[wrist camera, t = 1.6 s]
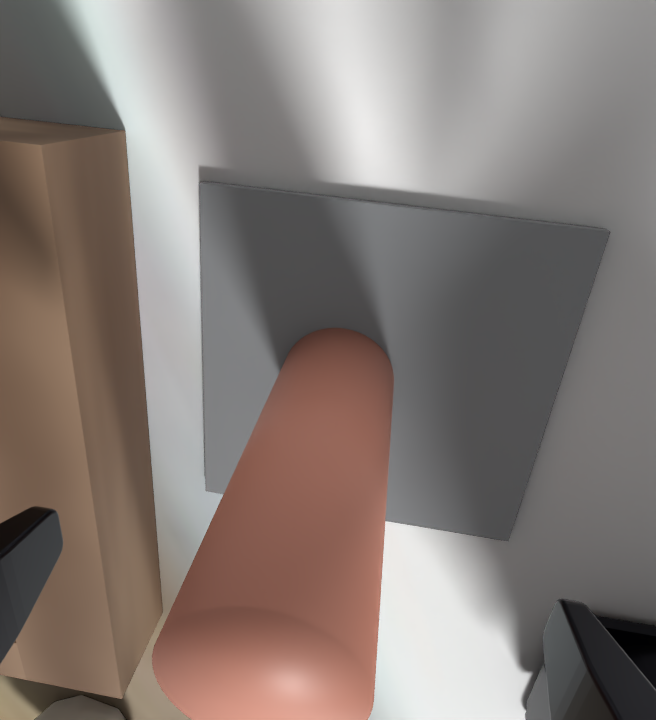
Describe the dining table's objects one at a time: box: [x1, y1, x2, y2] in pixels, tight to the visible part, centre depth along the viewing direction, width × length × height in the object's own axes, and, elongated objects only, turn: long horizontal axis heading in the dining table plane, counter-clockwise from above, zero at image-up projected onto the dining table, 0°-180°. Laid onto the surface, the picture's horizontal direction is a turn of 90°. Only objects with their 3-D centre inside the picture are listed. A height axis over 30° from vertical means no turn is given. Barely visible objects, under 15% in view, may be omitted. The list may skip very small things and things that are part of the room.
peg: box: [152, 328, 394, 720], centre depth 12 cm, size 3×3×9 cm
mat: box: [199, 181, 610, 541], centre depth 16 cm, size 10×10×1 cm
